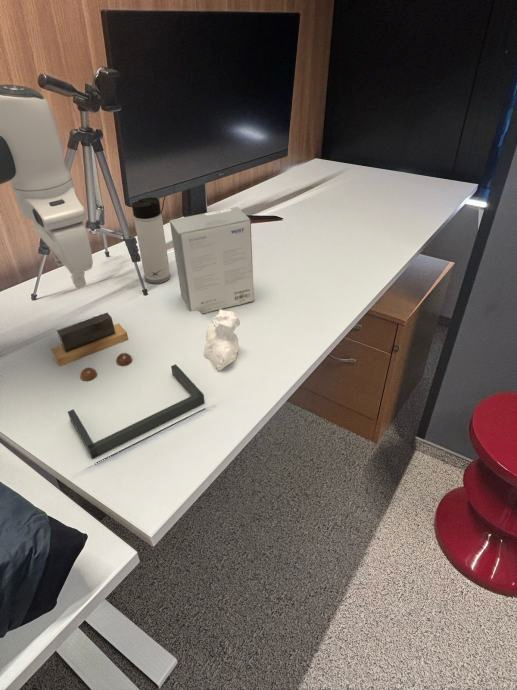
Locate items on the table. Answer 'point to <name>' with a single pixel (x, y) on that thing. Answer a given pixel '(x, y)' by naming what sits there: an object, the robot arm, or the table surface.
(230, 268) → the hard drive box
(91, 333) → the brush
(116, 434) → the catcher
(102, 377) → the table surface
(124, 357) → the brown ball
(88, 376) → the brown chestnut
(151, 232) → the travel mug
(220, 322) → the bust
